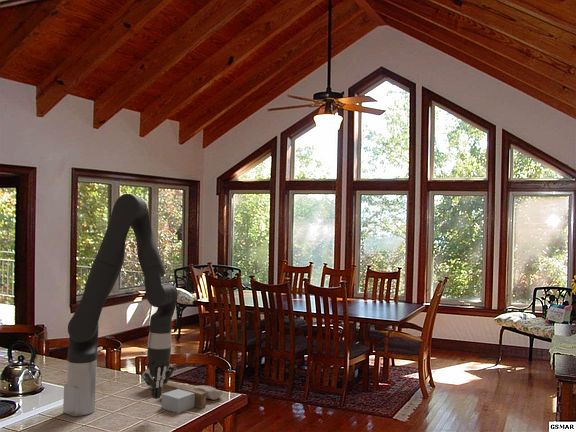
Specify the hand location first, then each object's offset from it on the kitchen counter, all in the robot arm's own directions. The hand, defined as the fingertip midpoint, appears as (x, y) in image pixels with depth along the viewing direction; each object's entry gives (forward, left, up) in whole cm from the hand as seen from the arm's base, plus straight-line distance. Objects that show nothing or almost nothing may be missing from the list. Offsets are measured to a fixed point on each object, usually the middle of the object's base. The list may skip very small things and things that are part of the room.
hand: (156, 398), depth 192 cm
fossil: (+26, +1, -7) cm, 27 cm away
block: (+12, +2, -7) cm, 14 cm away
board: (+17, +4, -6) cm, 19 cm away
